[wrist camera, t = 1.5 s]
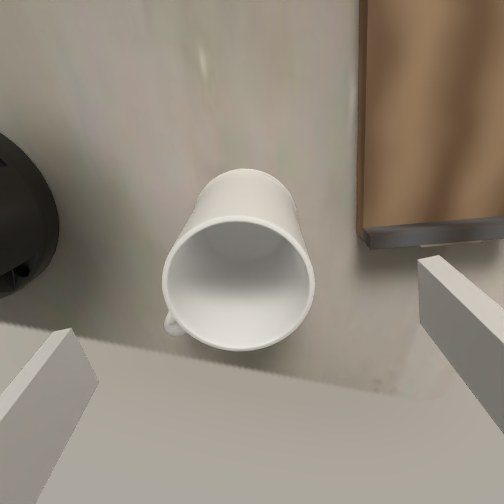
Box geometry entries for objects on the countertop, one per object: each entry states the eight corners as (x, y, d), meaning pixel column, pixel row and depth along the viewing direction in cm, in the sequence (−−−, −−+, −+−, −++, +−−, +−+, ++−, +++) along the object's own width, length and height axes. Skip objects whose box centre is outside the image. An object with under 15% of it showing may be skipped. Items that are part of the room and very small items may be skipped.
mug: (213, 304, 33) (190, 406, 22) (145, 237, 31) (82, 314, 20) (317, 226, 30) (352, 299, 19) (251, 145, 28) (247, 174, 17)
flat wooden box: (356, 234, 30) (369, 253, 27) (360, -68, 23) (380, -101, 19) (503, 222, 30) (538, 239, 26) (559, -93, 22) (620, -133, 18)
